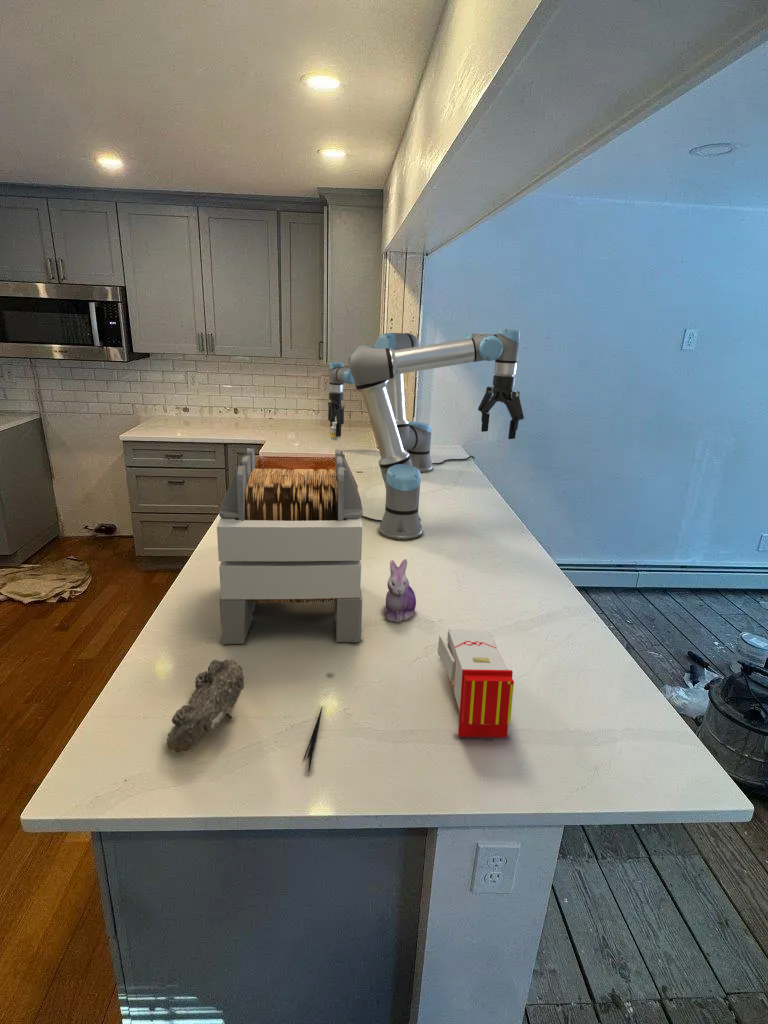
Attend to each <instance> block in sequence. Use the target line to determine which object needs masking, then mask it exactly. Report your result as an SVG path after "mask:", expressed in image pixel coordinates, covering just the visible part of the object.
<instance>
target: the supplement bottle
mask: <svg viewBox="0 0 768 1024" xmlns="http://www.w3.org/2000/svg"><path fill="white" fill-rule="evenodd" d="M336 424H337V421H336V422H332V425H333V426H331V434H330V441H334V442H338V441H341V437H336Z"/></svg>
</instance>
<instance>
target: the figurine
mask: <svg viewBox="0 0 768 1024" xmlns="http://www.w3.org/2000/svg"><path fill="white" fill-rule="evenodd" d="M407 567H408V559H406V558H404V559H403V560H402V561H401V563H400V565H399V566H398V565H397V563H396V562H395V561H394V560H393V559H391V560H390V561H389V570H390V576H389V578H388V579H387V589H388V591H387V592H386V594H385V595H386V596H385V607H384V615H385V616H386V620H387V621H391V622H395V623H400V622H402V621H406V620H409V619H410V618H411V617H413V616H414V615H415V610H416V606H417V597H416V593H415V591H414V590H413V587H411V586H410V582H409V579H408V577H407V574H406V571H407Z"/></svg>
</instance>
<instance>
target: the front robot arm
mask: <svg viewBox="0 0 768 1024" xmlns="http://www.w3.org/2000/svg"><path fill="white" fill-rule="evenodd" d="M520 338H521V331H520V330H519V329H516V328H499V329H498V330H497V333H495V334H492V333H491V334H490V333H476V332H470V333H469V332H468V333H465V334H463V336H462V339H458V340H451V341H444V342H439V343H431V344H426V345H420V346H419V347H413V348H406V349H400V350H392V349H391V348H385V349H377V348H375V345H371V344H361V345H359V346H357V347H355V348H354V349H353V350H352V351H351V353H350V354H349V356H348V368H350V372H351V374H352V376H353V380H354V383H355V384H354V386H355V390H356V391H358V392H359V393H361V394H362V397H363V401H364V404H365V407H366V411H367V414H368V417H369V421H370V424H371V429H372V431H373V435H374V438H375V441H376V445H377V447H378V451H379V454H380V458H379V459H378V466H379V469H380V472H381V475H382V481H383V482H384V486H385V504H384V505H385V507H384V508H385V509H384V513H383V515H382V519H376V518H372V517H369V516H365V515H362V517H361V519H365V520H368V521H372V522H375V523H376V522H377V523H379V526H378V533H379V534H380V535H381V536H382V537H385V538H387V539H389V540H395V541H410V540H415V539H418V538H420V537H421V536H422V535H423V525H422V524H421V522H422V519H421V517H420V515H419V507H420V506H419V505H420V490H421V483H422V477H421V476H422V475H421V473H420V471H419V470H418V469H417V468H416V467H413V466H412V462H411V459H410V455H409V453H408V452H406V451H405V450H404V449H403V446H402V442H401V439H400V435H399V431H398V428H397V424H396V421H395V417H394V414H393V410H392V407H391V403H390V400H389V396H388V393H387V389H386V384H387V382H388V379H392V378H395V377H396V375H397V374H403V375H404V374H409V373H414V372H421V371H427V370H433V369H439V368H444V367H445V368H446V367H451V366H452V367H453V366H457V365H464V364H468V363H469V364H470V363H477V362H484V361H486V362H493V361H494V367H493V374H494V375H493V378H492V386H487V387H486V389H485V393H484V395H483V397H482V400H481V402H480V404H479V405H478V408H477V410H478V411H479V412H481V418H480V419H481V421H480V422H481V427H480V428H481V430H480V432H483V433H484V432H488V430H489V423H490V415H491V414H490V411H491V409H492V408H493V407H494V406H495V404H496V403H497V402H500V403H503V404H504V405H505V406H506V409H507V411H508V413H509V416H510V417H511V420H510V421H509V428H508V436H507V438H508V440H513V439H514V440H515V439H516V434H517V430H518V428H519V421H522V420H524V419H525V416H524V412H523V407H522V404H521V403H522V402H521V399H520V397H521V396H520V393H521V392H520V391H519V390H518V391H517V390H515V391H513V388H514V387H515V382H516V377H515V375H516V374H517V372H516V371H517V365H518V357H519V349H520V340H521V339H520Z"/></svg>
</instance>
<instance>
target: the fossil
mask: <svg viewBox="0 0 768 1024" xmlns="http://www.w3.org/2000/svg"><path fill="white" fill-rule="evenodd" d="M243 670H244V669H243V667H242V665H240V664H237V662H236V661H235V660H234V659H232V658H231V659H227V658H226V659H224V660H223V661H222V660H217V659H212V660H211V661H210V663H209V665H208V666H207V671H201V672H199V673H198V674H197V675H196V676H195V680H194V684H195V685H194V687H195V689H194V690H193V693H192V694H191V697H190V698H189V700H188V704H184V705H182V706H181V707H180V709H177V710H176V711H175V713H174V715H173V716H172V718H171V723H172V724H173V727H172V730H171V731H170V732H168V734H167V738H166V741H167V742H166V745H167V749H168V750H169V751H173V752H174V753H176V754H178V753H182V752H188V751H189V752H192V751H193V750H195V748H196V747H197V746H199V744H200V743H201V742H203V741H204V740H205V739H206V738H207V737H208V736H209V735H210V734H211V733H212V732H214V730H215V729H217V727H218V726H219V724H220V722H221V721H222V720H223V719H224V718H225V716H226V717H227V719H229V720H233V717H232V715H230V714H229V710H230V709H231V708H234V706H235V704H236V703H237V702H238V699H239V697H240V695H241V693H242V691H243V690H245V689H244V688H245V675H244V671H243Z"/></svg>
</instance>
